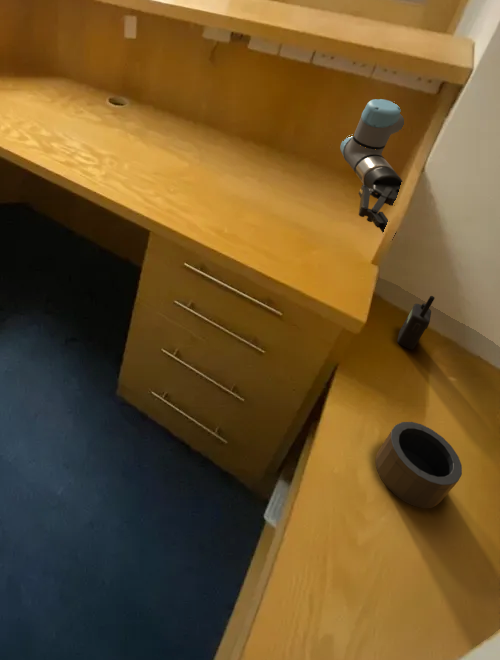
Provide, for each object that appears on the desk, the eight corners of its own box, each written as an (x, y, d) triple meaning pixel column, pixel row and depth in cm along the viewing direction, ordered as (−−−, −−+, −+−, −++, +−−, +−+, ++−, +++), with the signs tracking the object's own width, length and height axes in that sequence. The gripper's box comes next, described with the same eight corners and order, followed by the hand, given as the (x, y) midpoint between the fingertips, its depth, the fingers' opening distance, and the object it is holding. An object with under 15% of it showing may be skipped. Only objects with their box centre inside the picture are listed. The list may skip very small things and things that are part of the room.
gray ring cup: (430, 455, 91) (449, 431, 87) (451, 517, 83) (472, 493, 79) (369, 439, 94) (384, 414, 90) (383, 497, 86) (400, 473, 82)
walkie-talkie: (399, 329, 115) (425, 283, 107) (416, 337, 113) (444, 290, 105) (396, 344, 111) (422, 297, 104) (414, 352, 110) (442, 305, 102)
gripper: (424, 193, 127) (477, 256, 109) (323, 186, 129) (358, 247, 111) (437, 169, 123) (494, 230, 105) (332, 162, 124) (371, 221, 107)
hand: (425, 239), depth 108 cm, fingers open, 13 cm apart
